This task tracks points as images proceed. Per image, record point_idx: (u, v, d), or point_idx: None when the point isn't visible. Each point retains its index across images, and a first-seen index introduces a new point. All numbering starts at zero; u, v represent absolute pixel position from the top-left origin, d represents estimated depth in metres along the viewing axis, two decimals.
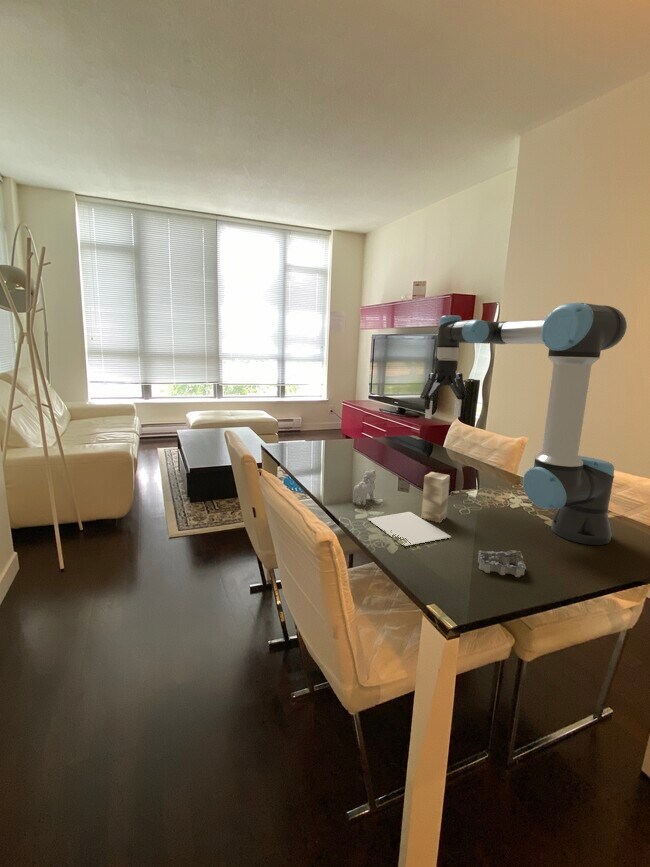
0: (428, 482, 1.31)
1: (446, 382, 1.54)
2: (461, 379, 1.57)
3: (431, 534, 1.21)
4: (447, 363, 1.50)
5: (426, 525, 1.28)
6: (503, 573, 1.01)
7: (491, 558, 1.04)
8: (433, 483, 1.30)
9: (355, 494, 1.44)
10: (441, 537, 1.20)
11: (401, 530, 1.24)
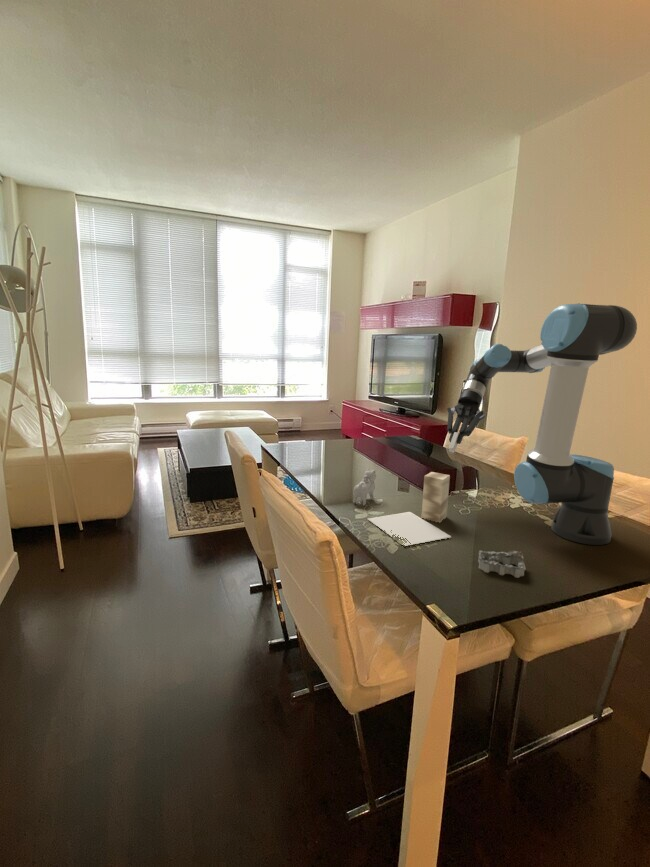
0: (428, 482, 1.31)
1: (462, 411, 1.47)
2: (477, 415, 1.43)
3: (431, 534, 1.21)
4: (462, 393, 1.49)
5: (426, 525, 1.28)
6: (502, 573, 1.01)
7: (491, 558, 1.04)
8: (433, 483, 1.30)
9: (355, 494, 1.44)
10: (441, 537, 1.20)
11: (401, 530, 1.24)
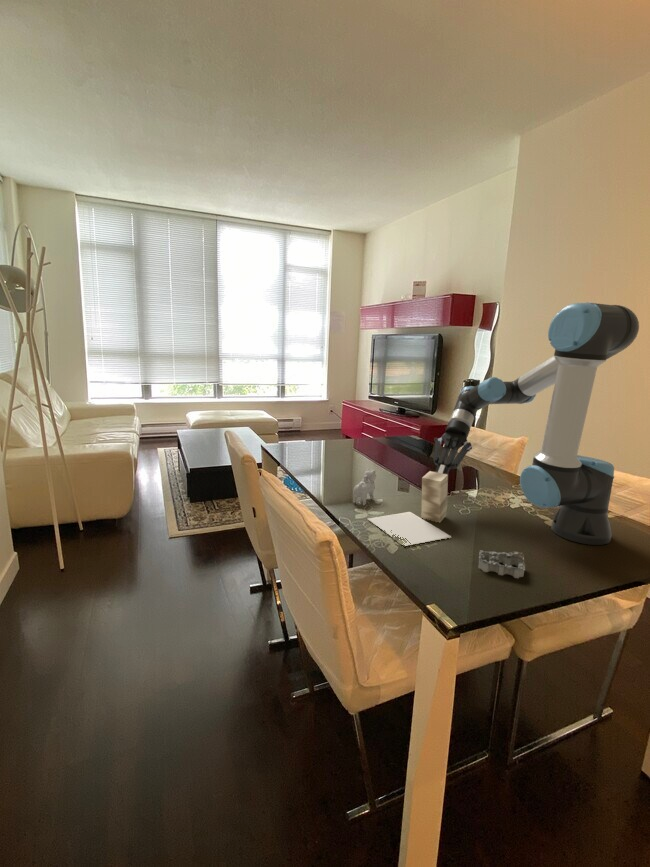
0: (426, 483, 1.30)
1: (449, 442, 1.42)
2: (464, 447, 1.38)
3: (431, 534, 1.21)
4: (449, 422, 1.44)
5: (426, 525, 1.28)
6: (501, 573, 1.01)
7: (491, 558, 1.04)
8: (431, 484, 1.29)
9: (355, 494, 1.44)
10: (441, 537, 1.20)
11: (401, 530, 1.24)
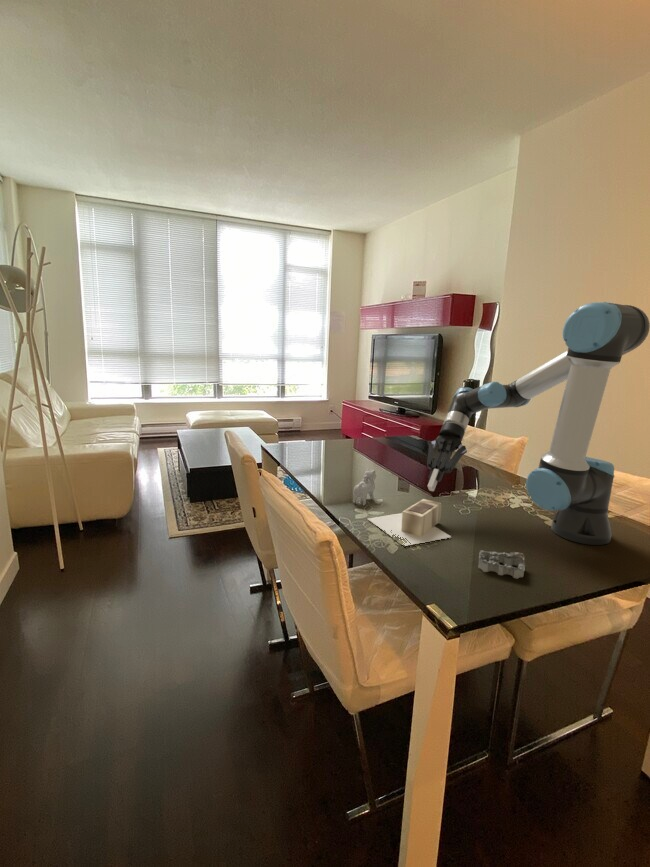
0: None
1: (443, 445, 1.37)
2: (459, 450, 1.33)
3: (431, 534, 1.21)
4: (443, 425, 1.39)
5: None
6: (501, 573, 1.01)
7: (491, 558, 1.04)
8: None
9: (355, 494, 1.44)
10: (441, 537, 1.20)
11: None
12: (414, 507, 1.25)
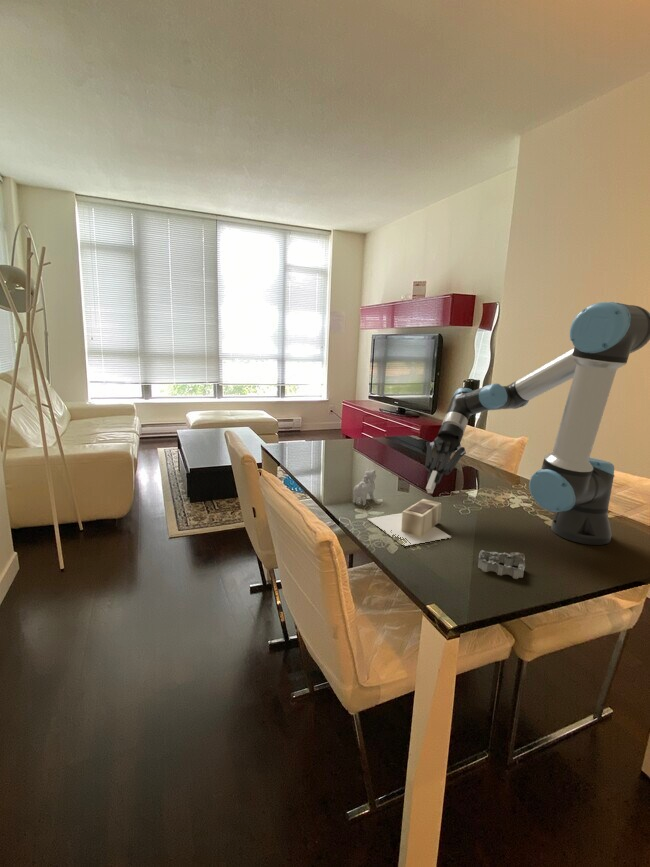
0: None
1: (442, 446, 1.34)
2: (458, 452, 1.31)
3: (431, 534, 1.21)
4: (442, 426, 1.37)
5: None
6: (500, 573, 1.01)
7: (491, 558, 1.04)
8: None
9: (355, 494, 1.44)
10: (441, 537, 1.20)
11: None
12: (414, 507, 1.25)
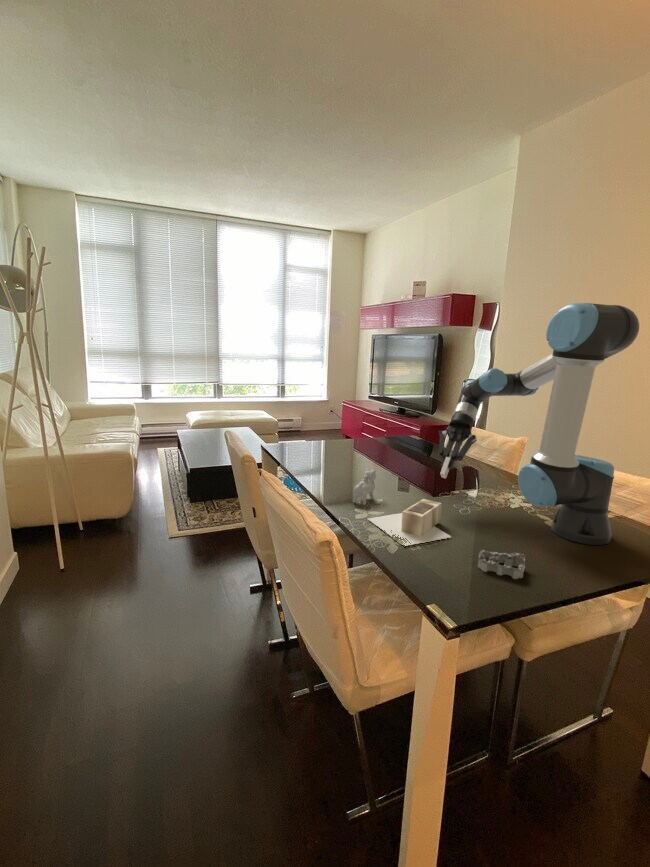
0: None
1: (454, 435, 1.43)
2: (469, 439, 1.40)
3: (431, 534, 1.21)
4: (454, 415, 1.46)
5: None
6: (500, 573, 1.01)
7: (491, 558, 1.04)
8: None
9: (355, 494, 1.44)
10: (441, 537, 1.20)
11: None
12: (414, 507, 1.25)
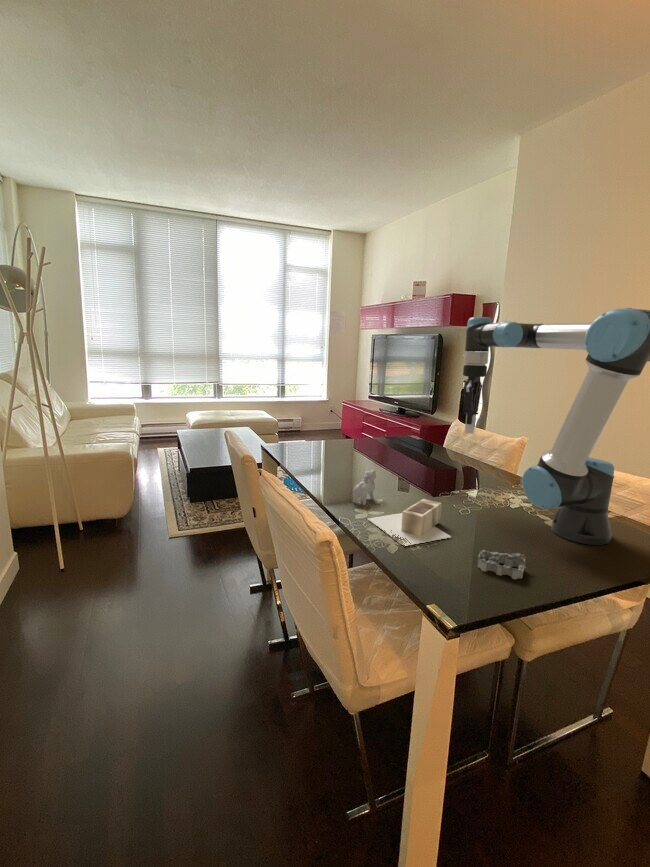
0: None
1: None
2: (480, 390, 1.48)
3: (431, 534, 1.21)
4: (481, 368, 1.40)
5: None
6: (499, 573, 1.01)
7: (491, 558, 1.04)
8: None
9: (355, 494, 1.44)
10: (441, 537, 1.20)
11: None
12: (414, 507, 1.25)
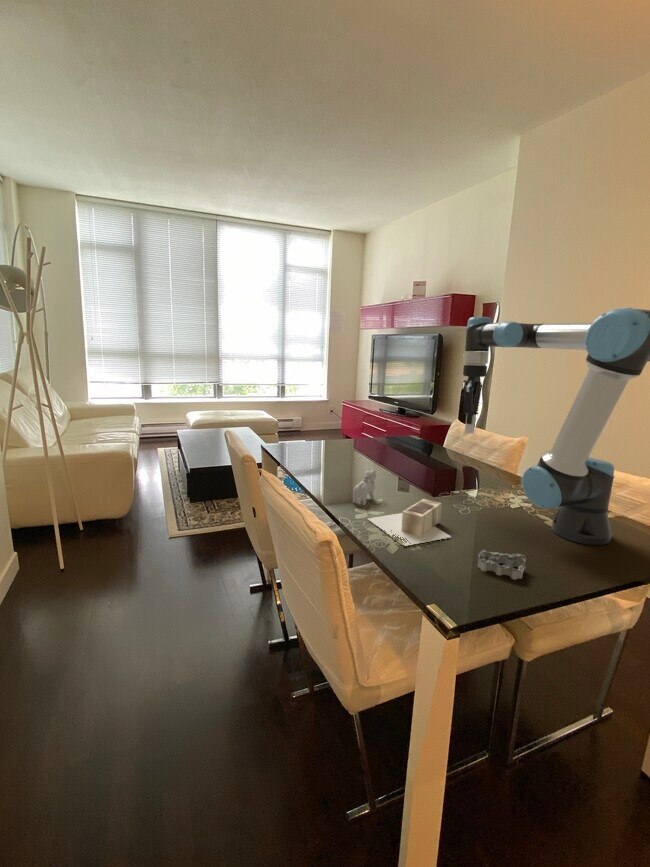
0: None
1: None
2: (480, 390, 1.48)
3: (431, 534, 1.21)
4: (481, 368, 1.40)
5: None
6: (499, 573, 1.01)
7: (491, 558, 1.04)
8: None
9: (355, 494, 1.44)
10: (441, 537, 1.20)
11: None
12: (414, 507, 1.25)
